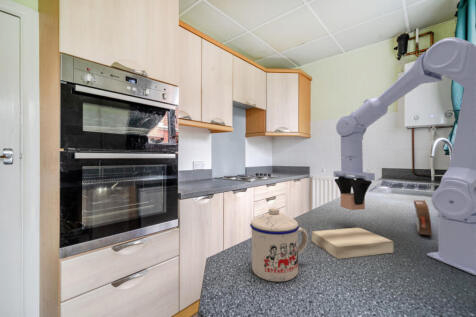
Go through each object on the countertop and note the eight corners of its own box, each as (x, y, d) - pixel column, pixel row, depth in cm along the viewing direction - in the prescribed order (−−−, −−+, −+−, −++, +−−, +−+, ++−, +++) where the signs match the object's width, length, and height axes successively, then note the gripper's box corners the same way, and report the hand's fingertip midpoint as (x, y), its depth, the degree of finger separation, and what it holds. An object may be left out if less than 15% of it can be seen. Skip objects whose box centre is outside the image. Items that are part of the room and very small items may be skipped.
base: (393, 252, 47) (393, 241, 47) (337, 258, 44) (337, 246, 44) (359, 236, 57) (359, 227, 57) (311, 241, 54) (311, 231, 54)
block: (364, 209, 62) (364, 195, 62) (351, 210, 61) (351, 196, 61) (353, 205, 66) (353, 193, 66) (340, 206, 65) (340, 193, 65)
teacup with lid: (264, 288, 35) (263, 216, 35) (243, 263, 43) (243, 205, 43) (323, 274, 39) (322, 209, 39) (293, 253, 47) (293, 201, 47)
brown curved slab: (432, 240, 54) (432, 207, 54) (416, 237, 56) (416, 205, 56) (426, 225, 66) (426, 198, 66) (413, 223, 68) (413, 197, 68)
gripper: (325, 157, 70) (325, 199, 70) (358, 156, 56) (359, 208, 56) (343, 157, 71) (344, 198, 71) (380, 156, 57) (381, 207, 57)
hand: (352, 202), depth 64 cm, fingers closed on block, 4 cm apart
